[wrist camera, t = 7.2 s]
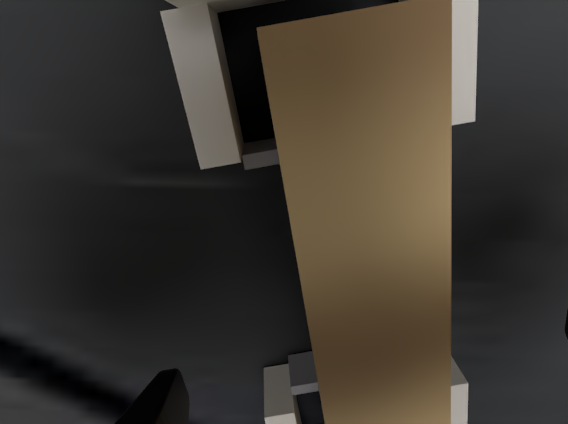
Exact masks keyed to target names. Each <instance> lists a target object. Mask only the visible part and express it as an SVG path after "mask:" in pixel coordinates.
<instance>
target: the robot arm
mask: <svg viewBox="0 0 568 424" xmlns="http://www.w3.org/2000/svg"><path fill="white" fill-rule="evenodd" d="M565 333H566V336H567V339H568V310H567V317H566V324H565ZM188 418H189V395H188V392H187V389H186V386H185V383H184V380H183V377H182V375H181V372H180V371H179V369H176V368H175V369H169V370H163V371H161V372H159V373H158V374H157V375H156V376H155V378H154V379H153V380H152V381H151V382H150V383H149V384H148V386H147V387H146V388H145V389H144V390H143V391H142V393H141V394H140V395H139V396H138V397H137V398H136V399H135V401H134V402H133V403H132V404H131V405H130V406H129V408H128V409H127V410H126V411H125V412H124V413H123V414H122V416H121V417H120V418H119V419H118V420H117V421H116V422H115V424H188Z"/></svg>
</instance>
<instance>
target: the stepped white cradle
mask: <svg viewBox="0 0 568 424" xmlns="http://www.w3.org/2000/svg"><path fill="white" fill-rule="evenodd" d="M165 1H167V2H169V3H170V4H172V5H174V6H176V7H178V8H176V9H170V10H165V11H160V13H161V17H162V21H163V25H164V29H165V33H166V37H167V41H168V45H169V49H170V52H171V56H172V60H173V64H174V68H175V72H176V76H177V80H178V84H179V87H180V91H181V95H182V99H183V103H184V107H185V111H186V115H187V119H188V123H189V126H190V130H191V134H192V138H193V142H194V146H195V150H196V154H197V158H198V162H199V165H200V169H207V168H212V167H218V166H224V165H229V164H235V163H241V158H243V163H244V168H245V170H248V169H254V168H260V167H265V166H271V165H277V164H280V162H279V156H278V150H277V145H276V139H275V138H270V139H265V140H259V141H253V142H248V143H244V141H243V136H242V131H241V126H240V121H239V116H238V112H237V107H236V102H235V97H234V92H233V87H232V82H231V78H230V73H229V68H228V63H227V58H226V53H225V48H224V44H223V39H222V34H221V29H220V24H219V19H218V14H217V13H219V12H225V11H230V10H236V9H241V8H247V7H253V6H258V5H264V4H269V3H275V2H280V1H286V0H165ZM402 1H408V0H399V2H402ZM477 33H478V0H452V125H457V124H463V123H468V122H474V121H475V110H476V72H477ZM316 391H319V386H318V381H317V375H316V369H315V363H314V358H313V352H312V351H310V352H305V353H299V354H293V355H288V364H283V365H277V366H272V367H266V368H264V419H265V423H266V424H302V422H301V417H300V413H299V408H298V403H297V398H296V395H298V394H304V393H310V392H316ZM467 415H468V382H467V380H466V379H465V377H464V375H463V374H462V372H461V371H460V369H459V368H458V366H457V364H456V363H455V361H454V360H453V358H452V356H451V424H467Z"/></svg>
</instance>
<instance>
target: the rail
mask: <svg viewBox="0 0 568 424" xmlns="http://www.w3.org/2000/svg"><path fill="white" fill-rule="evenodd" d="M257 35H258V42H259V48H260V54H261V60H262V65H263V71H264V77H265V83H266V88H267V94H268V100H269V105H270V110H271V116H272V122H273V127H274V133H275V139H276V145H277V150H278V156H279V162H280V168H281V173H282V179H283V185H284V191H285V196H286V202H287V208H288V214H289V219H290V225H291V231H292V237H293V242H294V248H295V254H296V260H297V265H298V271H299V277H300V283H301V288H302V294H303V300H304V306H305V311H306V317H307V323H308V329H309V335H310V340H311V346H312V352H313V358H314V363H315V369H316V375H317V381H318V386H319V393H320V399H321V404H322V410H323V416H324V421H325V424H451V182H452V0H408V1H402V2H397V3H391V4H386V5H380V6H374V7H369V8H363V9H358V10H352V11H347V12H341V13H335V14H330V15H324V16H319V17H313V18H307V19H302V20H296V21H291V22H285V23H280V24H274V25H268V26H263V27H257Z"/></svg>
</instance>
